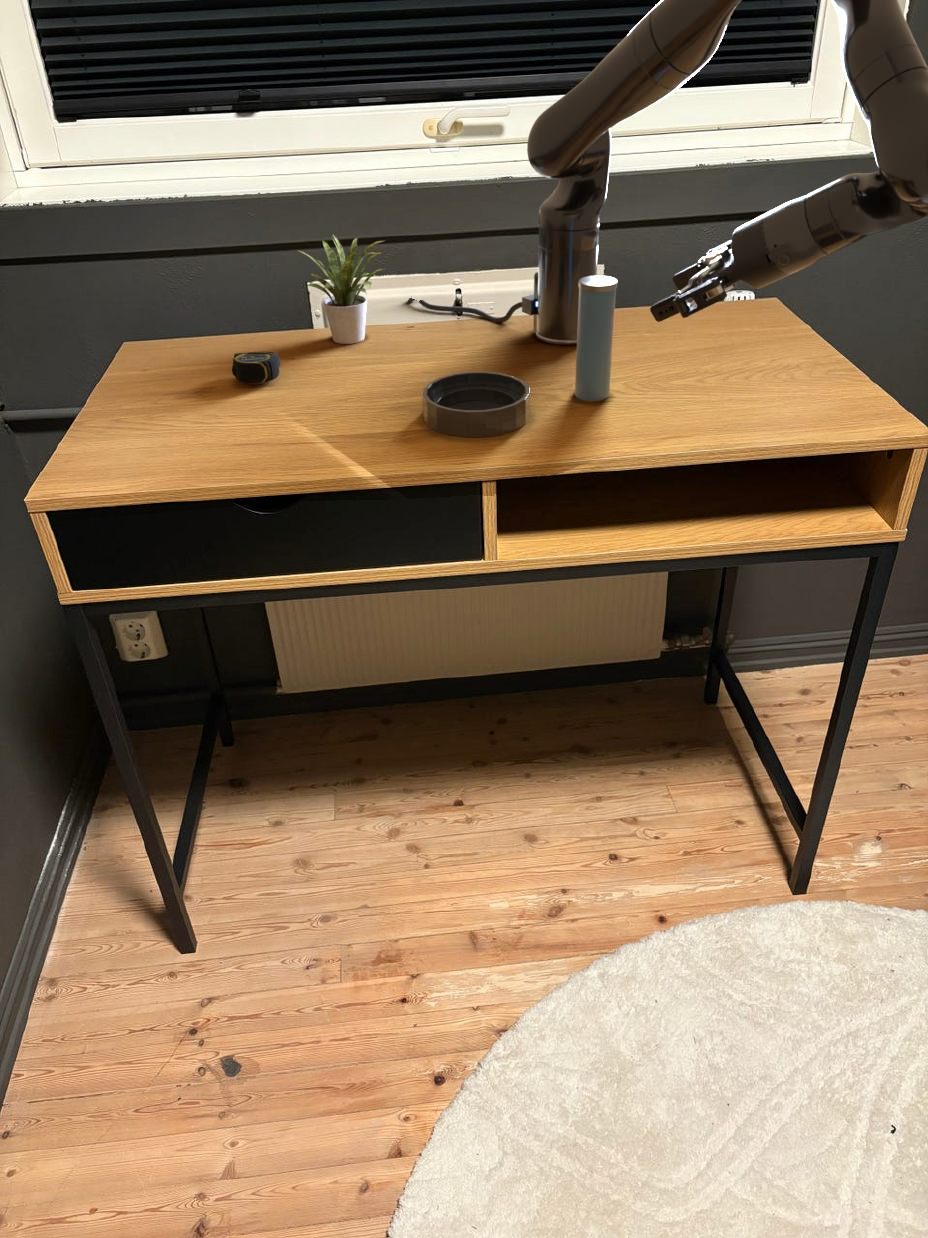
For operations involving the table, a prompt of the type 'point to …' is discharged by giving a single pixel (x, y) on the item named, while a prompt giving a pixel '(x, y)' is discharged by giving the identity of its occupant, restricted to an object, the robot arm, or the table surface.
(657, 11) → the robot arm
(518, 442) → the table surface
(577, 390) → the canister
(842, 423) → the table surface
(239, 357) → the tape measure
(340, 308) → the house plant
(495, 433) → the bowl
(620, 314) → the table surface
